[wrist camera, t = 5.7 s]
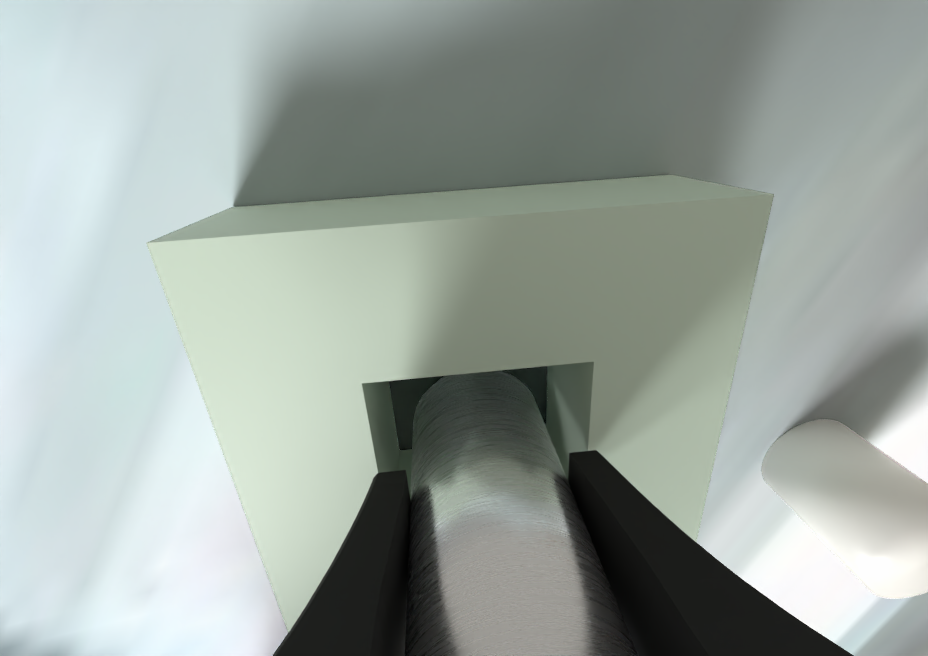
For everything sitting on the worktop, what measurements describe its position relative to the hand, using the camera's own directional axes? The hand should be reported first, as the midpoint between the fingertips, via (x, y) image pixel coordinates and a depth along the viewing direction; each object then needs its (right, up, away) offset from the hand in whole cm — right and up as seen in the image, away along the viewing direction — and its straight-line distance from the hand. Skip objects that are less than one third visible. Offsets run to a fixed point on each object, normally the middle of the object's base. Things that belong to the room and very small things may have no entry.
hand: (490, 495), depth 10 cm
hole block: (0, +2, +5) cm, 5 cm away
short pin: (+13, -1, +7) cm, 15 cm away
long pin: (0, +1, +3) cm, 3 cm away
